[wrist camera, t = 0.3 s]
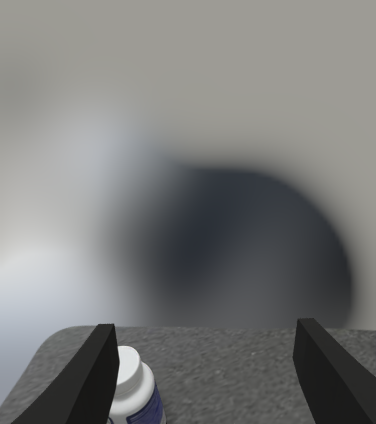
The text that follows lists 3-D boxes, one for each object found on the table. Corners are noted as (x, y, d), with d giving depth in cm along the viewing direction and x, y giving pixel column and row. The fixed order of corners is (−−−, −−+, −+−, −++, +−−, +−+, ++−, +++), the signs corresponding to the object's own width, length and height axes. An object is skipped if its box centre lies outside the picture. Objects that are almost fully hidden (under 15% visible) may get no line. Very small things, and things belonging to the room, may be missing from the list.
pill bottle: (168, 398, 34) (151, 337, 30) (164, 455, 29) (143, 390, 25) (118, 402, 34) (95, 342, 30) (106, 458, 29) (77, 396, 25)
